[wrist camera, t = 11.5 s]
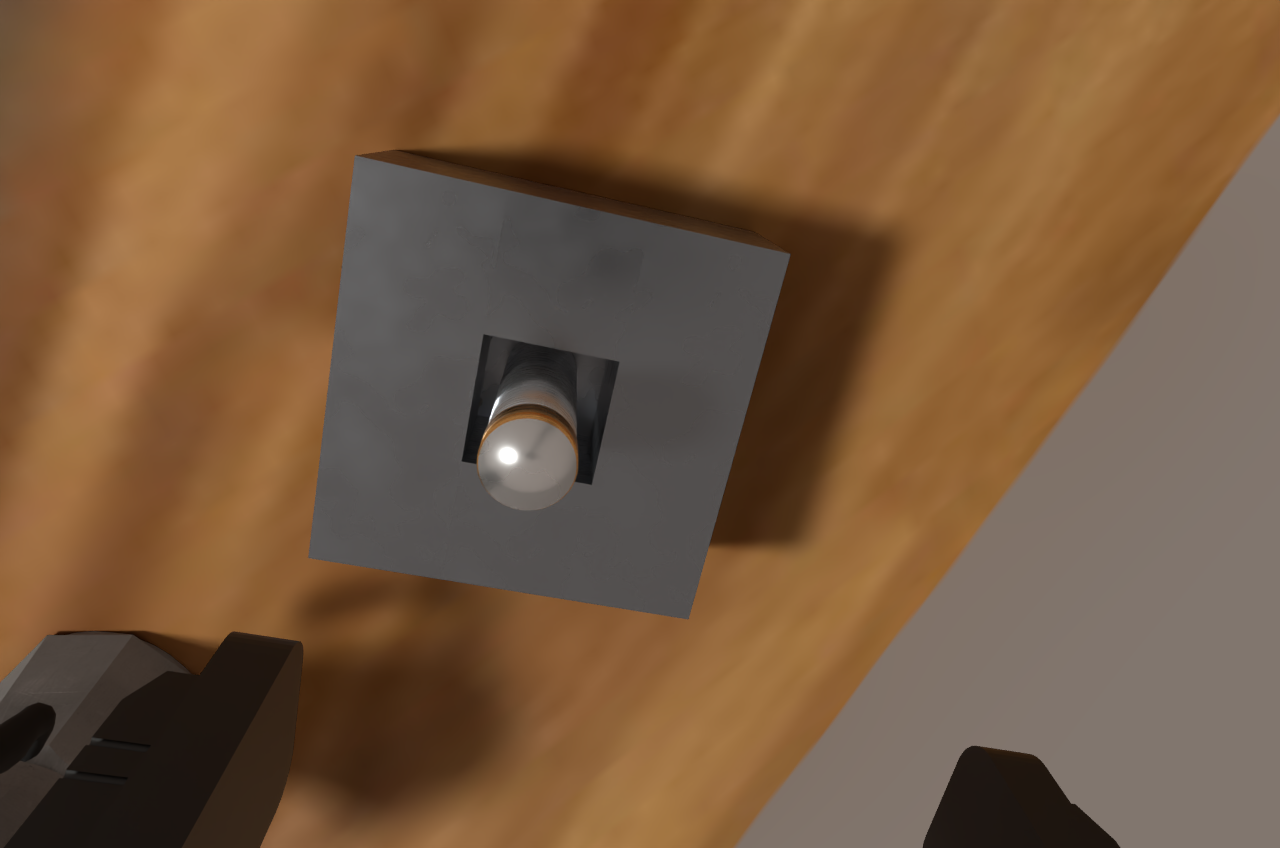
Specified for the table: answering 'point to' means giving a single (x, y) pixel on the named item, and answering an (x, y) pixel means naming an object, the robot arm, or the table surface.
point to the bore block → (475, 361)
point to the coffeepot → (63, 709)
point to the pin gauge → (532, 430)
